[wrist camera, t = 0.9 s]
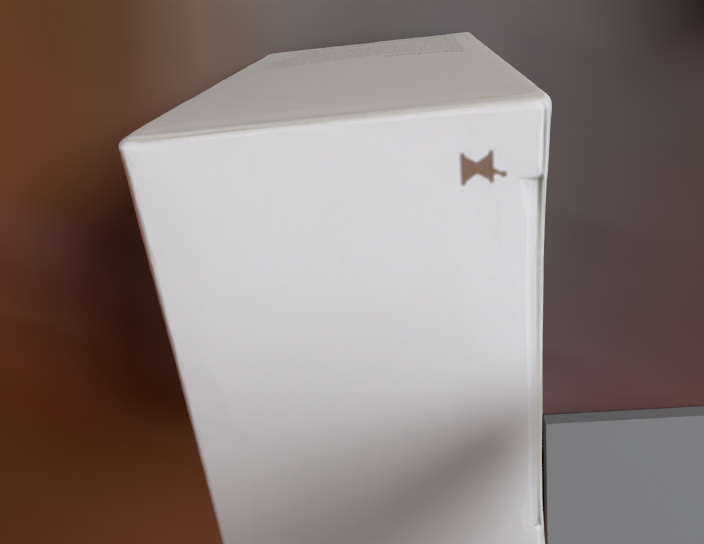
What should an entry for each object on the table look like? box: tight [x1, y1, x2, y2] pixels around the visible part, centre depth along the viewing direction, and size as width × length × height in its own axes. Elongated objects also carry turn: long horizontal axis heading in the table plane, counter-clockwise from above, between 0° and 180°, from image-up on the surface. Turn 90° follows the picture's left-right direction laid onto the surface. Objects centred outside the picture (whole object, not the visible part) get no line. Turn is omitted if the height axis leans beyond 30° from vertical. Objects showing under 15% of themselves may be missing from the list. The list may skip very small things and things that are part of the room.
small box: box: [118, 32, 552, 544], centre depth 14 cm, size 8×6×10 cm
